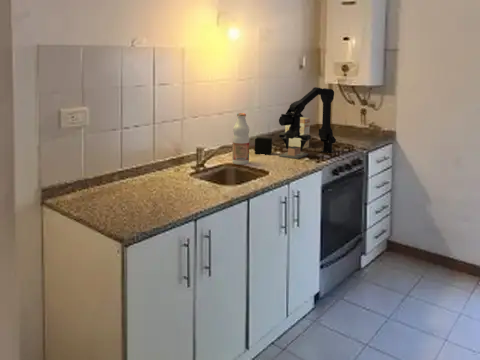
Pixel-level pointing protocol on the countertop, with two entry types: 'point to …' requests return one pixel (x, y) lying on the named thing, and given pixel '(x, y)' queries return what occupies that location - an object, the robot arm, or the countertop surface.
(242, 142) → the fruit juice
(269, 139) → the electronic device
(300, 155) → the pad
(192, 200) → the countertop surface
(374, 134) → the countertop surface
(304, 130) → the coffeecake box
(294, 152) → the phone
